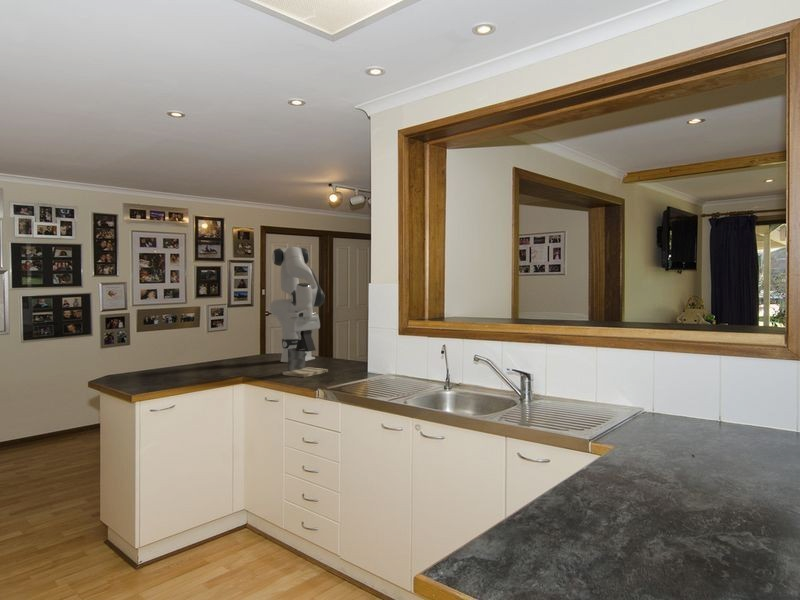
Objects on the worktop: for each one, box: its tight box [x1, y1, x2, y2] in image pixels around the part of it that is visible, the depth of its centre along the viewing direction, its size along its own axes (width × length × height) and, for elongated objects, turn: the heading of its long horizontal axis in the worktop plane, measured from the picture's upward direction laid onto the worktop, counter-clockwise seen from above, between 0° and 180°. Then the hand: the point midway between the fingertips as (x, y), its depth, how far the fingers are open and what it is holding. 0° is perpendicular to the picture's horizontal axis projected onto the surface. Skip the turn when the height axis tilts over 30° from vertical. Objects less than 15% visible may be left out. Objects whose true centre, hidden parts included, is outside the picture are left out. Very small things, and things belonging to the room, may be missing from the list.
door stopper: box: [296, 330, 316, 352], centre depth 288 cm, size 9×6×12 cm, turn 58°
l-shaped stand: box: [282, 348, 329, 378], centre depth 288 cm, size 18×16×14 cm
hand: (305, 338), depth 288 cm, fingers closed on door stopper, 6 cm apart
